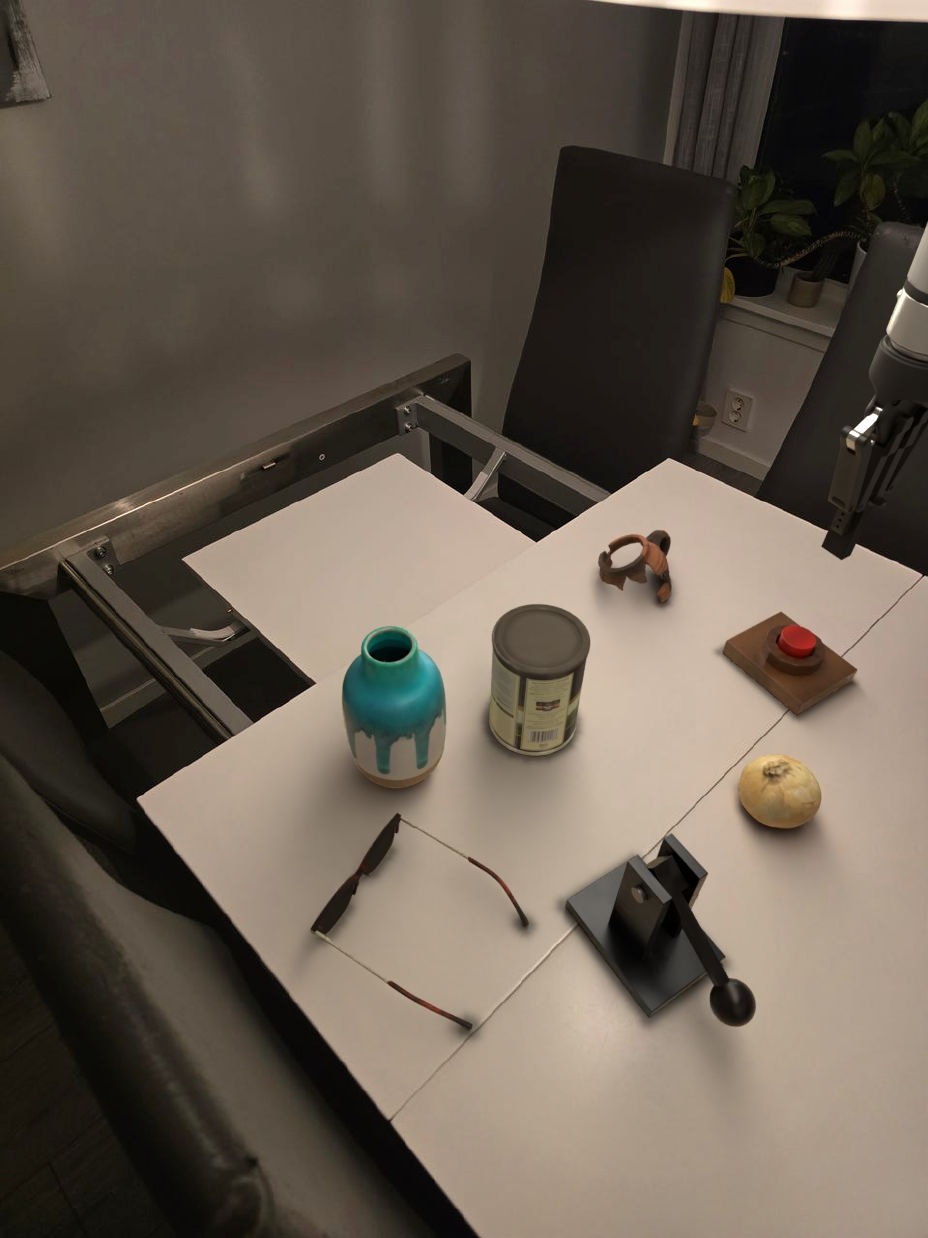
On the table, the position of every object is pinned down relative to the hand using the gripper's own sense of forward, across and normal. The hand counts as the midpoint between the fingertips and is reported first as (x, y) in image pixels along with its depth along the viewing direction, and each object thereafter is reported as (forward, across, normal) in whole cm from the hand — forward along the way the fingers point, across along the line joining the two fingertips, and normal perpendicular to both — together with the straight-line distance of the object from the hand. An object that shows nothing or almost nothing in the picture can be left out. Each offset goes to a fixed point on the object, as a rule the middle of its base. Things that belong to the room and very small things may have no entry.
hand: (835, 550), depth 85 cm
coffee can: (+19, +32, -10) cm, 38 cm away
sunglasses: (+19, +55, +5) cm, 58 cm away
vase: (+19, +48, -13) cm, 53 cm away
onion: (+19, +17, +13) cm, 29 cm away
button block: (+19, 0, 0) cm, 19 cm away
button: (+15, 0, 0) cm, 15 cm away
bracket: (+18, +38, +16) cm, 45 cm away
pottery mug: (+19, +5, -22) cm, 29 cm away
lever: (+12, +38, +20) cm, 45 cm away
